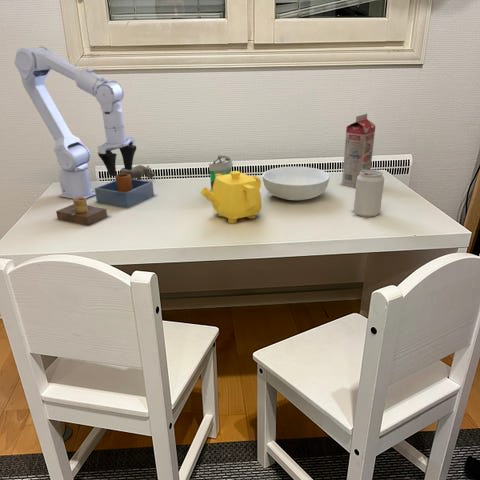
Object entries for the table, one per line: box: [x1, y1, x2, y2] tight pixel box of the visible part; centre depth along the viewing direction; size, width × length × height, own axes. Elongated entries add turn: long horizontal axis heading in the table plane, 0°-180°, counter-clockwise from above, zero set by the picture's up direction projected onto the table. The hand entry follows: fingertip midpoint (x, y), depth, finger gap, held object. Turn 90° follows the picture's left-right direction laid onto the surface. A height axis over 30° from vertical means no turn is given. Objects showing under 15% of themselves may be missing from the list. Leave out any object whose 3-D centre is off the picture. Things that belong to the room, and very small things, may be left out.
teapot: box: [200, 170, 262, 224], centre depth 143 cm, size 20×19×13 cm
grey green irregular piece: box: [208, 154, 234, 192], centre depth 166 cm, size 12×6×10 cm, turn 168°
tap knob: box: [72, 197, 88, 213], centre depth 145 cm, size 4×4×4 cm
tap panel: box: [55, 203, 108, 226], centre depth 147 cm, size 12×9×3 cm
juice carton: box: [341, 113, 376, 188], centre depth 166 cm, size 7×7×22 cm
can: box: [353, 169, 385, 218], centre depth 143 cm, size 8×8×12 cm
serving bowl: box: [262, 165, 331, 202], centre depth 159 cm, size 21×21×7 cm
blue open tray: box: [94, 178, 155, 209], centre depth 161 cm, size 12×13×5 cm
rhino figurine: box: [118, 164, 157, 180], centre depth 177 cm, size 4×14×6 cm, turn 119°
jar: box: [114, 173, 132, 192], centre depth 160 cm, size 5×5×7 cm
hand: (120, 172), depth 158 cm, fingers open, 7 cm apart
